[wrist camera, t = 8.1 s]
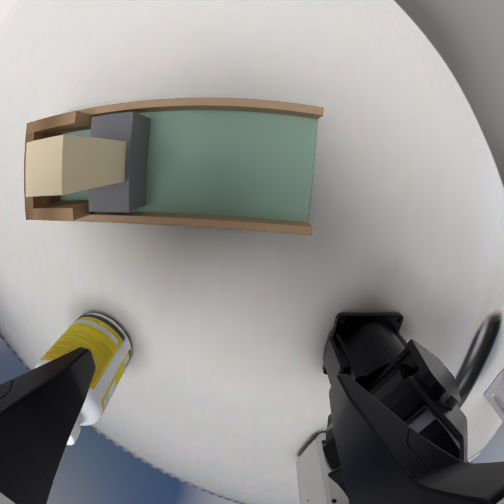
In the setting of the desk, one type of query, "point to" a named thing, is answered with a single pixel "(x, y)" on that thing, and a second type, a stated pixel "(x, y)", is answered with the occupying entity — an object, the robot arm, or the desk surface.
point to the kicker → (94, 163)
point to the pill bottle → (106, 361)
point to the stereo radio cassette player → (317, 477)
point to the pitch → (222, 164)
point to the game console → (497, 395)
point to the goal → (52, 204)
